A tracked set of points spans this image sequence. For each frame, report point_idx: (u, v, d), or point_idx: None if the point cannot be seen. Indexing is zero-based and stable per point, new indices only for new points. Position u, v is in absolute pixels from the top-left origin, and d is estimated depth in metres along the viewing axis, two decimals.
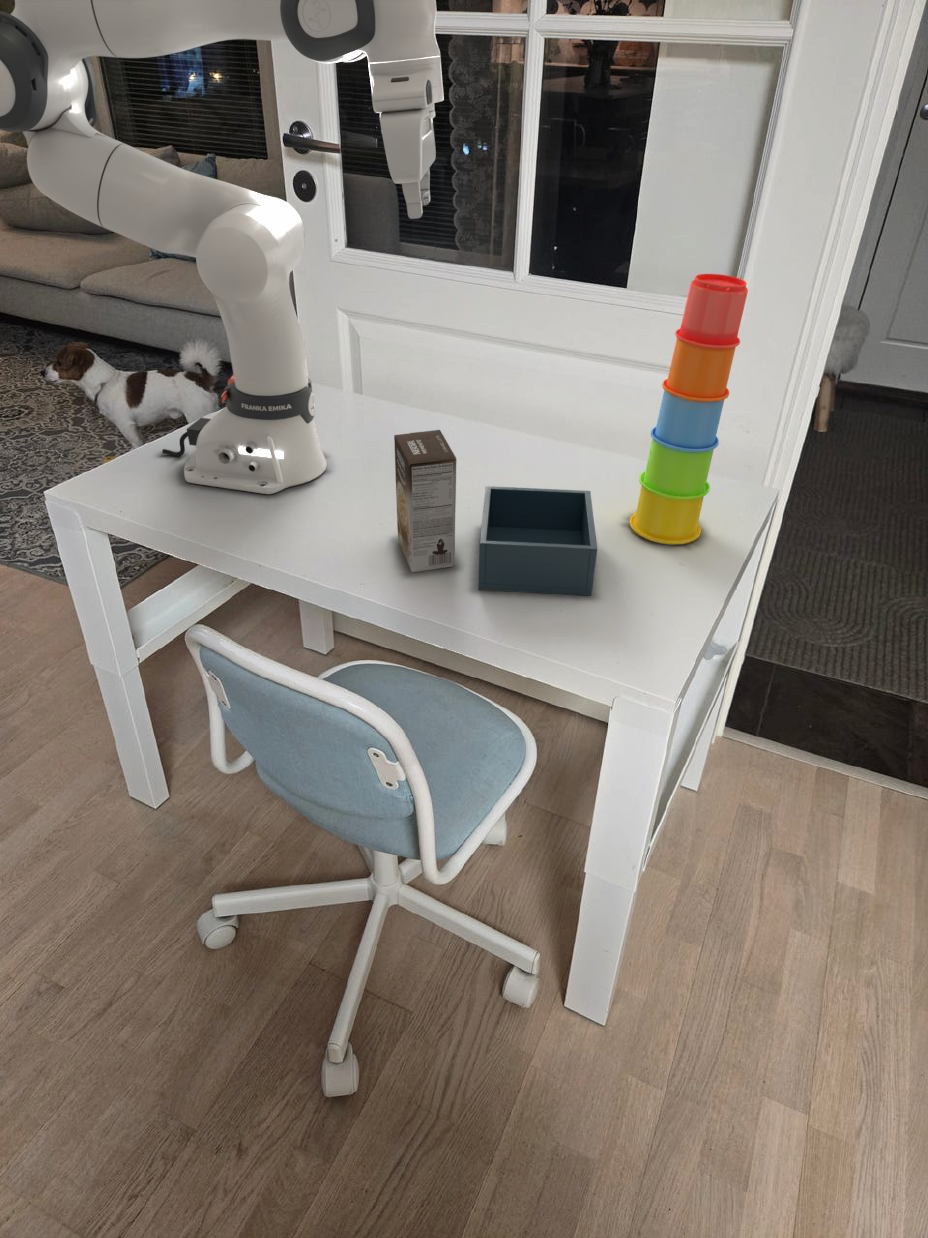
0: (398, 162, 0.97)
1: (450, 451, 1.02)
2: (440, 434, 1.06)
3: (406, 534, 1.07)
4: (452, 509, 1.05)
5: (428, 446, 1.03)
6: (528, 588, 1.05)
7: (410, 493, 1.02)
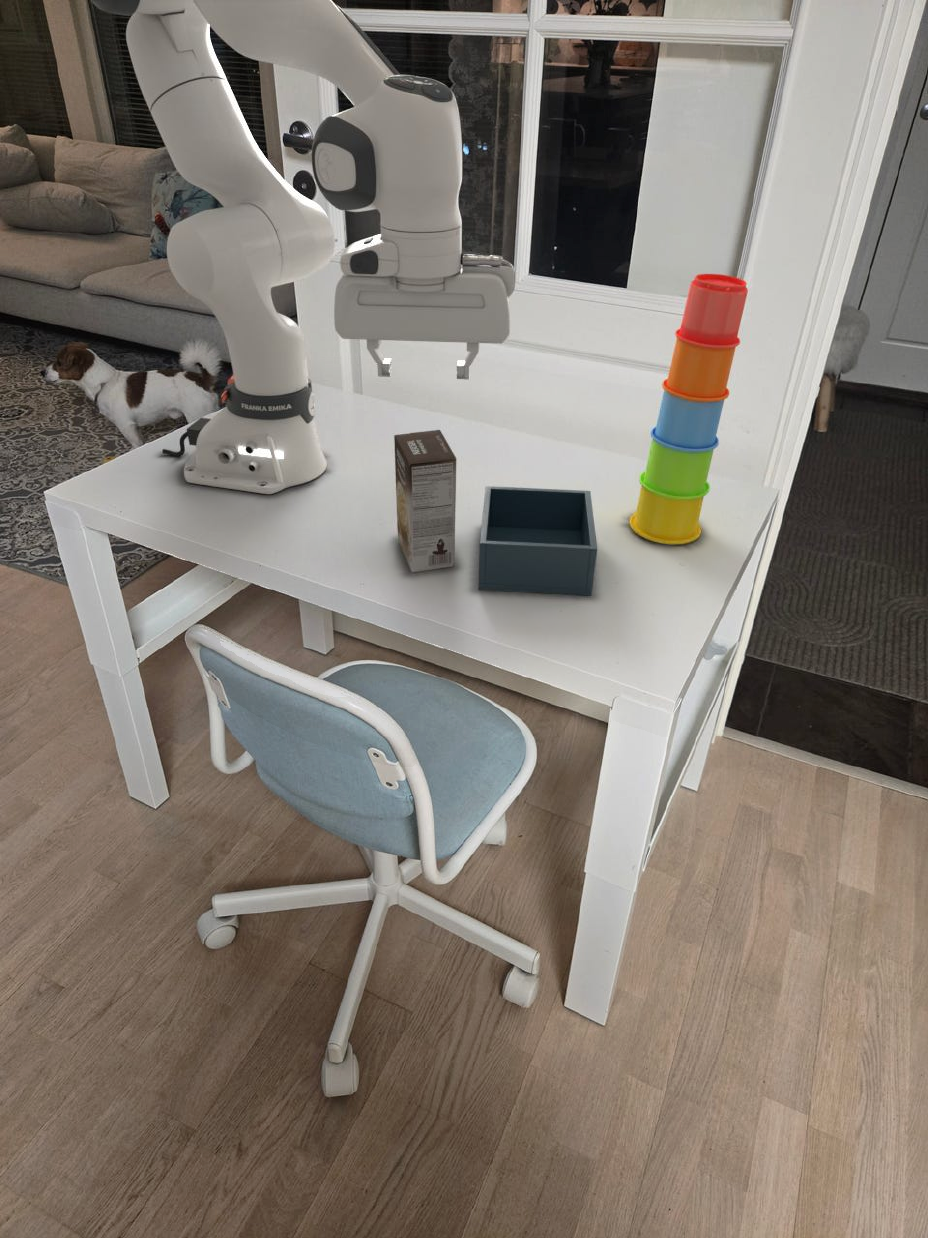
0: None
1: (450, 451, 1.02)
2: (440, 434, 1.06)
3: (406, 534, 1.07)
4: (452, 509, 1.05)
5: (428, 446, 1.03)
6: (528, 588, 1.05)
7: (410, 493, 1.02)
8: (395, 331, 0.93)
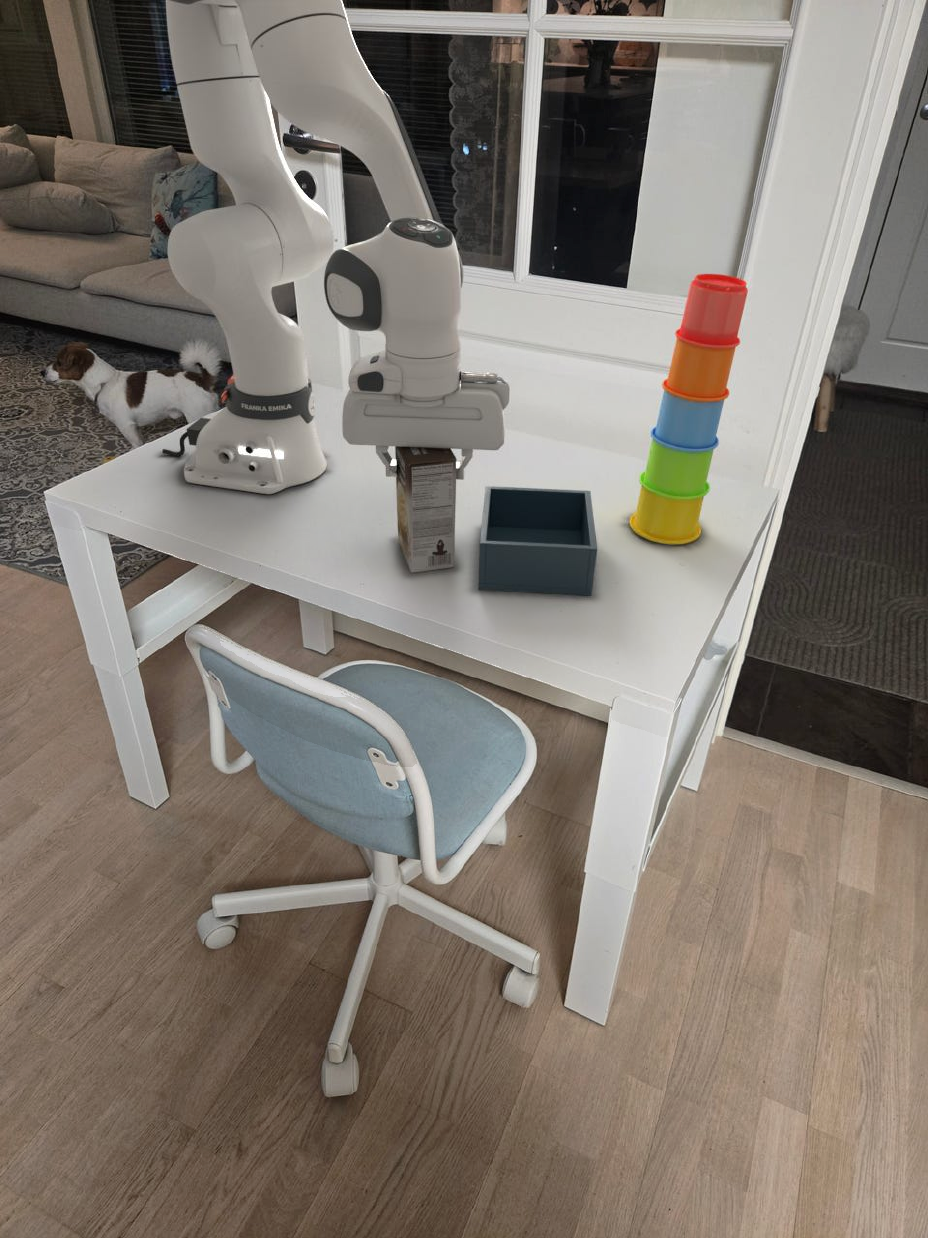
0: None
1: (450, 452, 1.02)
2: None
3: (406, 534, 1.07)
4: (452, 510, 1.05)
5: None
6: (528, 588, 1.05)
7: (410, 493, 1.02)
8: (398, 439, 1.01)
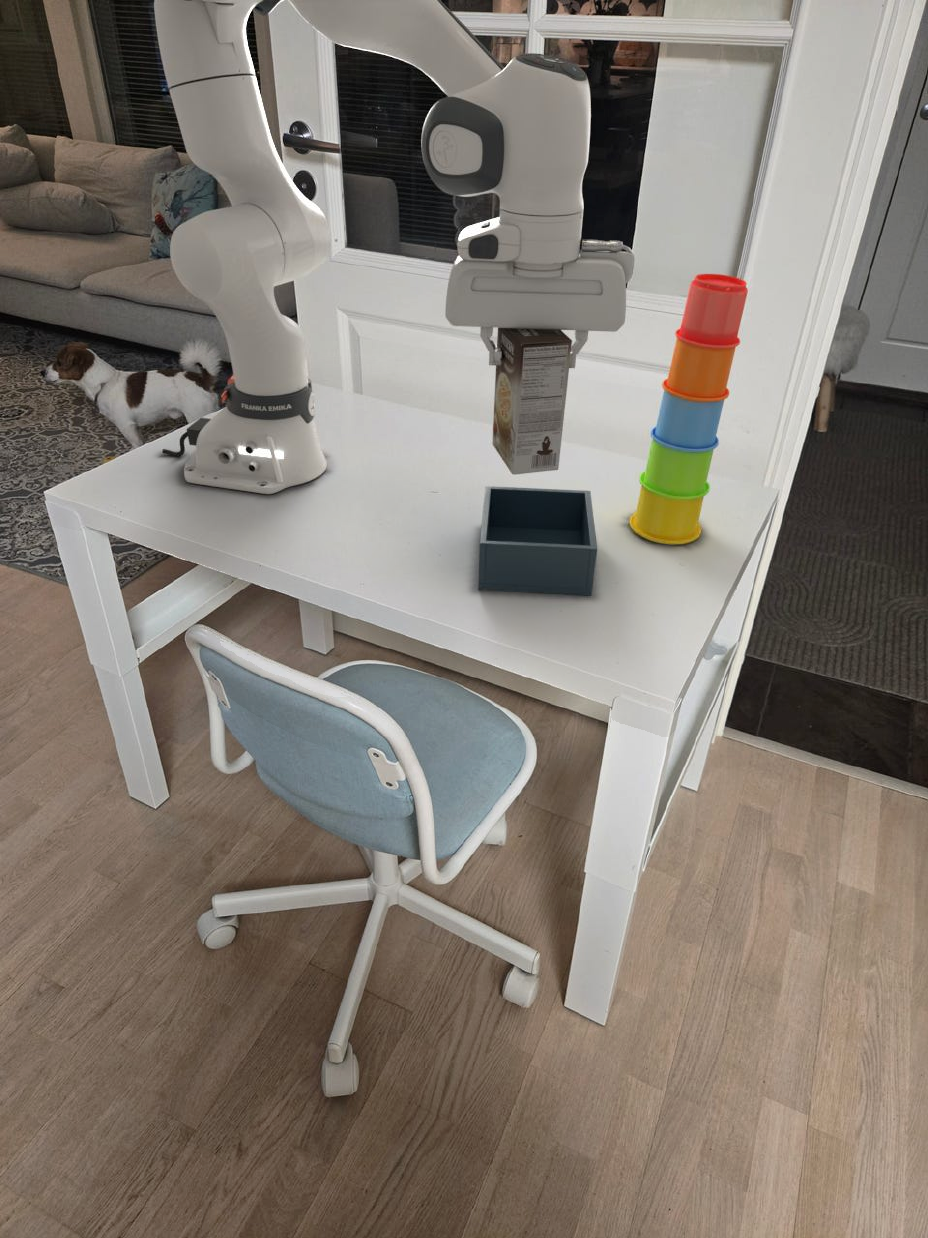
0: None
1: (564, 334, 0.92)
2: None
3: (508, 431, 0.98)
4: (562, 402, 0.95)
5: (538, 329, 0.93)
6: (528, 588, 1.05)
7: (519, 379, 0.92)
8: (507, 318, 0.91)
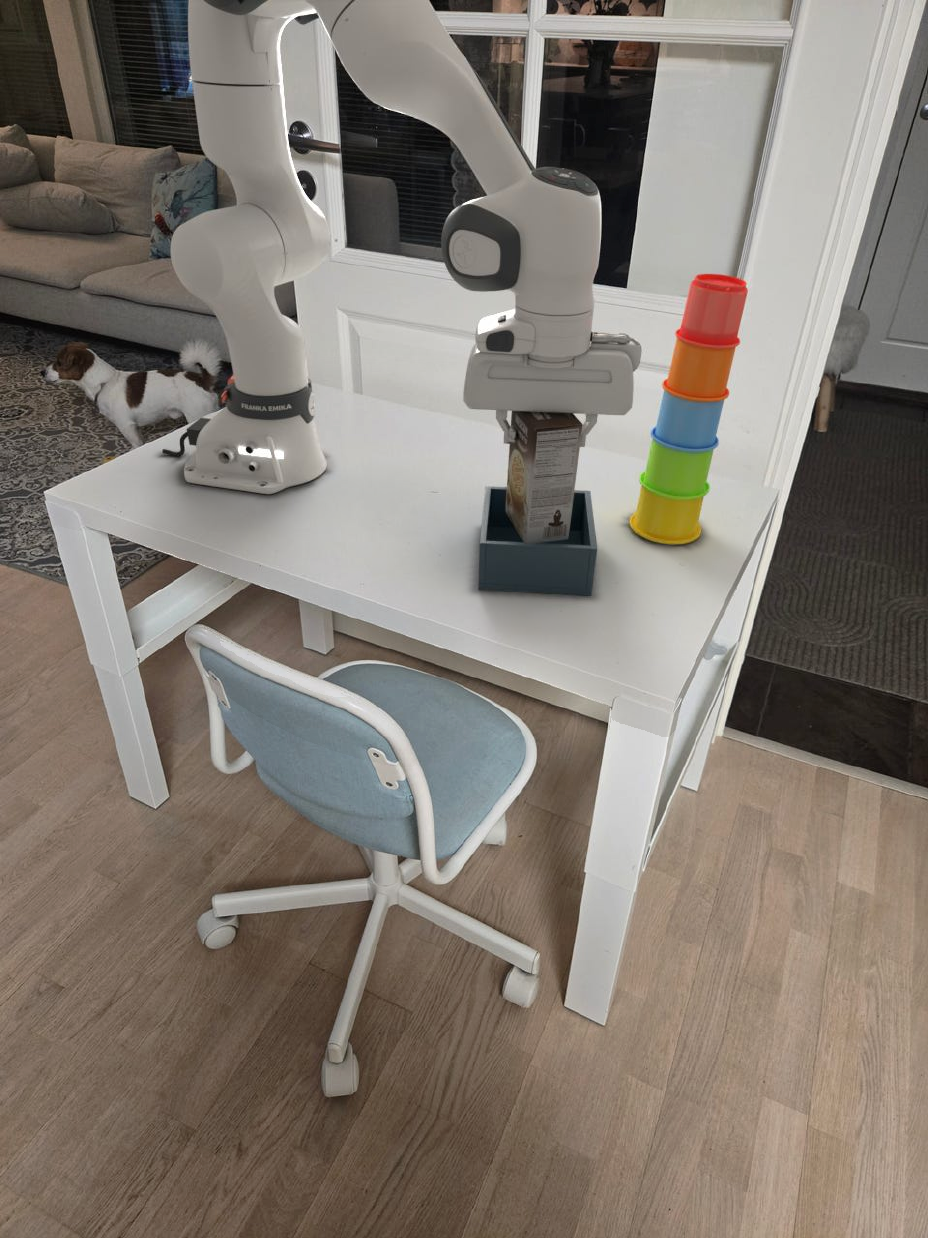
0: None
1: (574, 417, 0.98)
2: None
3: (521, 504, 1.03)
4: (572, 479, 1.01)
5: (550, 412, 0.99)
6: (528, 588, 1.05)
7: (533, 460, 0.98)
8: (522, 403, 0.97)
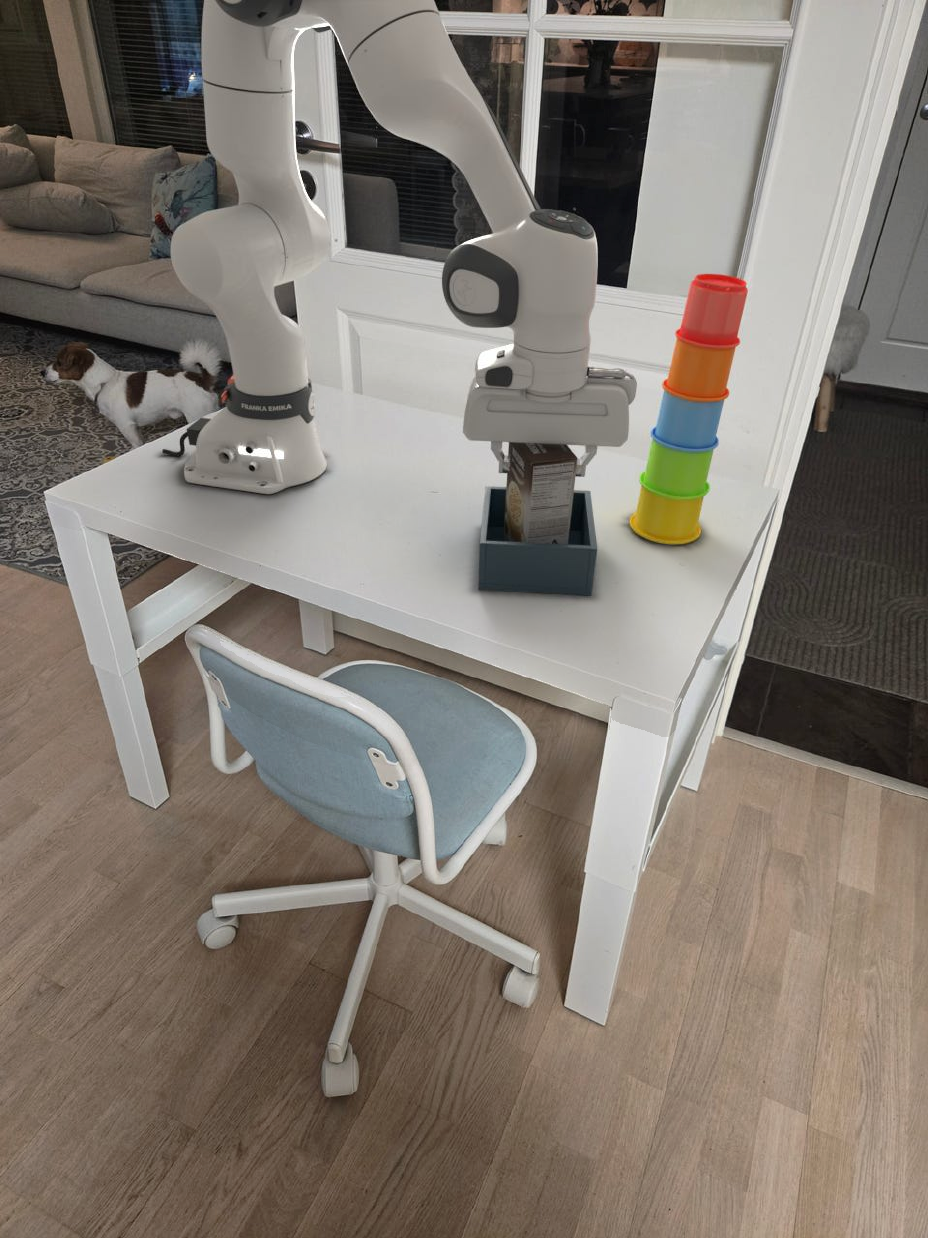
0: None
1: (570, 450, 1.01)
2: None
3: (519, 534, 1.06)
4: (568, 510, 1.03)
5: (546, 445, 1.01)
6: (528, 588, 1.05)
7: (529, 493, 1.00)
8: (520, 435, 0.99)
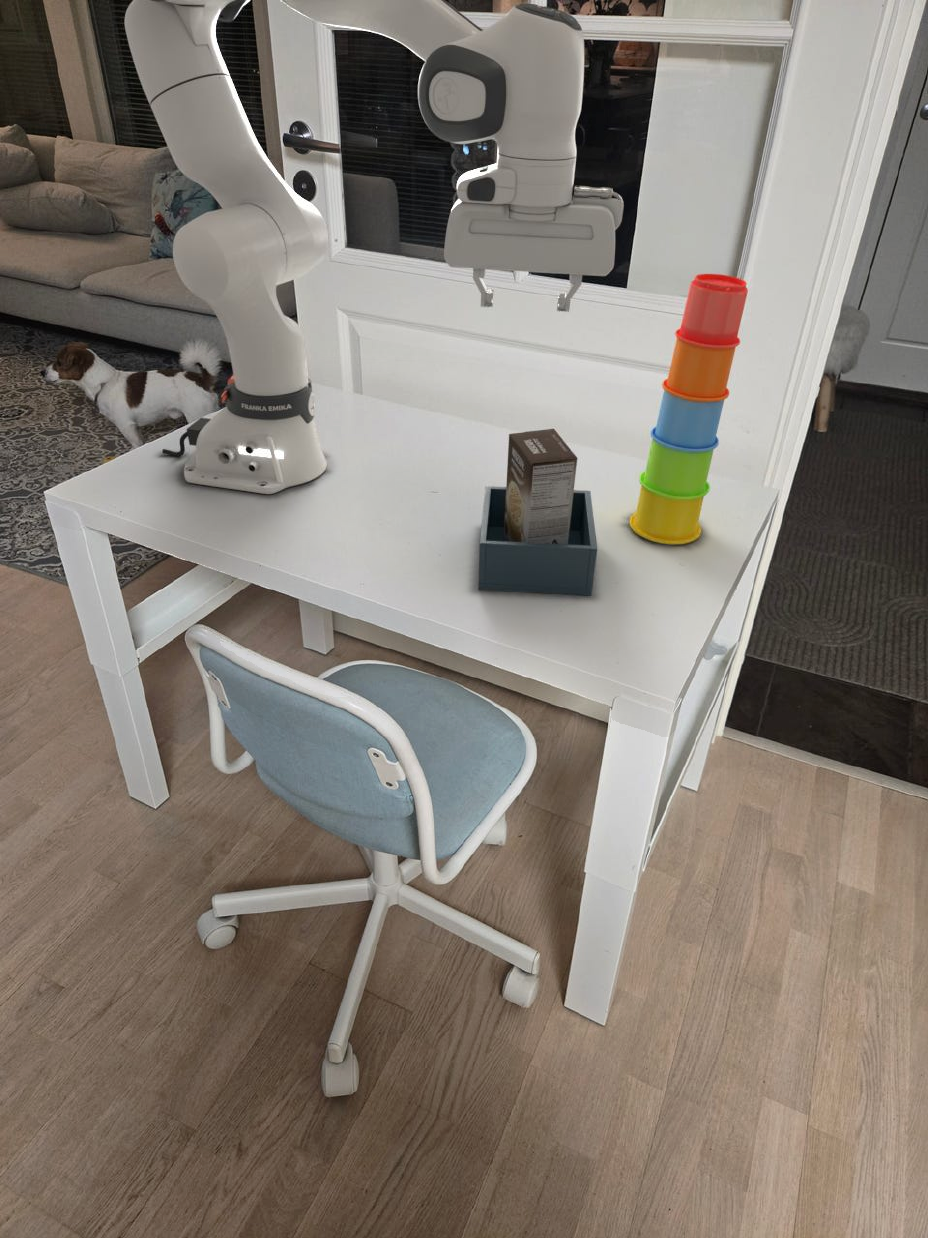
0: None
1: (569, 450, 1.01)
2: (555, 433, 1.05)
3: (519, 534, 1.06)
4: (568, 510, 1.03)
5: (546, 445, 1.01)
6: (528, 588, 1.05)
7: (529, 493, 1.00)
8: (503, 260, 0.96)
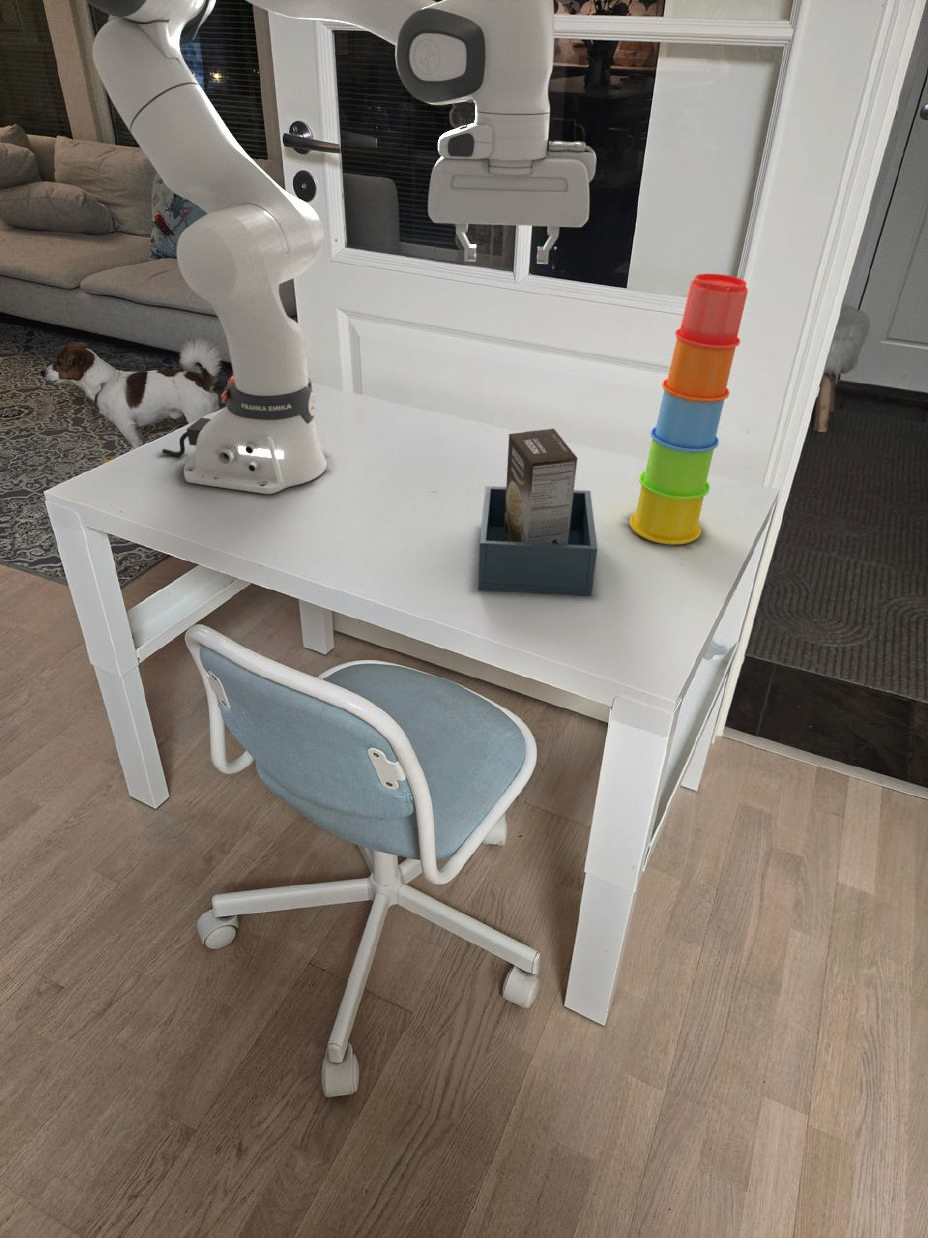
0: None
1: (569, 450, 1.01)
2: (555, 433, 1.05)
3: (519, 534, 1.06)
4: (568, 510, 1.03)
5: (546, 445, 1.01)
6: (528, 588, 1.05)
7: (529, 493, 1.00)
8: (484, 214, 1.02)
